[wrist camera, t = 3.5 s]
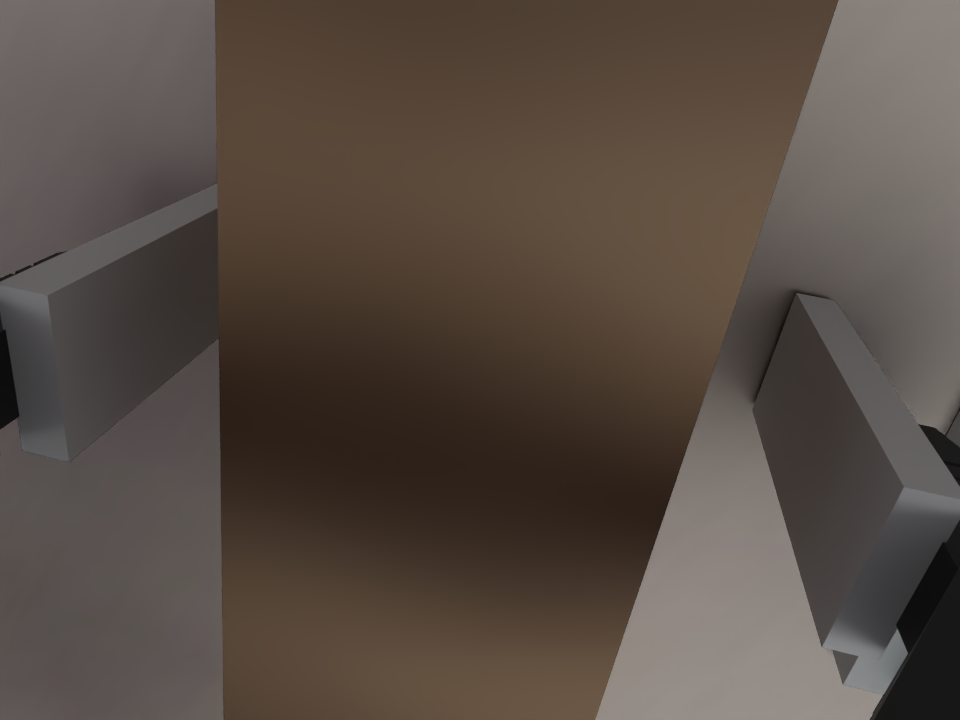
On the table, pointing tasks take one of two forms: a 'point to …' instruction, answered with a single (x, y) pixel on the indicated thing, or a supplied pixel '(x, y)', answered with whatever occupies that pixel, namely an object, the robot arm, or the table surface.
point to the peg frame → (883, 671)
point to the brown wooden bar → (473, 329)
